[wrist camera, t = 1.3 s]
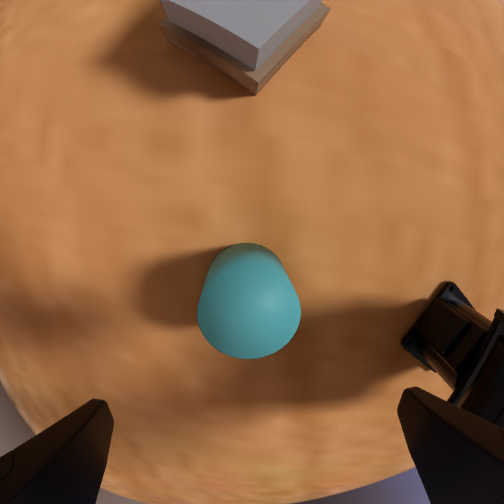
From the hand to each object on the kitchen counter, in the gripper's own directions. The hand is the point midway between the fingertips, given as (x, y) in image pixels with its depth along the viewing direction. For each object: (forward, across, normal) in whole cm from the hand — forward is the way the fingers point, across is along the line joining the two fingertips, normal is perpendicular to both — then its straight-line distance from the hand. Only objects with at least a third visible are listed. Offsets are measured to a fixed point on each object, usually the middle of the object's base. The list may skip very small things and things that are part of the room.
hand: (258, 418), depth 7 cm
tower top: (+9, 0, -16) cm, 19 cm away
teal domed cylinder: (+12, 0, 0) cm, 12 cm away
